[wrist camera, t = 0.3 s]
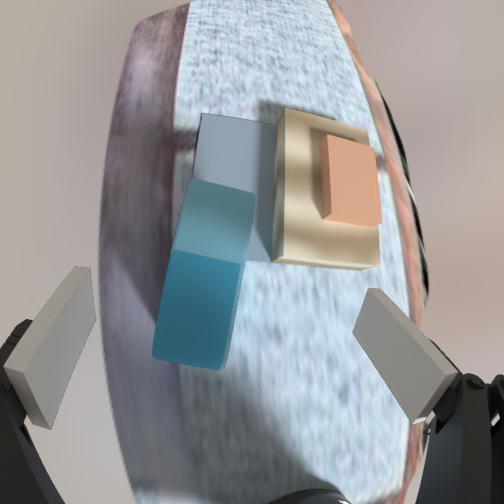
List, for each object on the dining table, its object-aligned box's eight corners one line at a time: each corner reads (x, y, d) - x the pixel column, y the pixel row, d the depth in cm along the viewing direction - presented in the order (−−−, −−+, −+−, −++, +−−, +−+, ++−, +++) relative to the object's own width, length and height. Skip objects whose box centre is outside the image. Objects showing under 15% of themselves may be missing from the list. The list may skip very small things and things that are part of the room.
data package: (187, 219, 30) (191, 169, 18) (230, 229, 31) (260, 186, 19) (162, 337, 27) (149, 362, 16) (207, 346, 28) (225, 376, 17)
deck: (360, 270, 34) (379, 265, 30) (270, 262, 31) (283, 255, 28) (352, 145, 37) (367, 130, 33) (274, 126, 35) (285, 107, 31)
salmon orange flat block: (371, 227, 31) (382, 222, 29) (322, 219, 29) (331, 213, 27) (364, 155, 32) (373, 147, 30) (319, 143, 31) (327, 134, 29)
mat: (270, 262, 31) (271, 262, 31) (183, 254, 29) (183, 253, 29) (274, 126, 35) (275, 125, 35) (202, 114, 33) (202, 113, 33)
